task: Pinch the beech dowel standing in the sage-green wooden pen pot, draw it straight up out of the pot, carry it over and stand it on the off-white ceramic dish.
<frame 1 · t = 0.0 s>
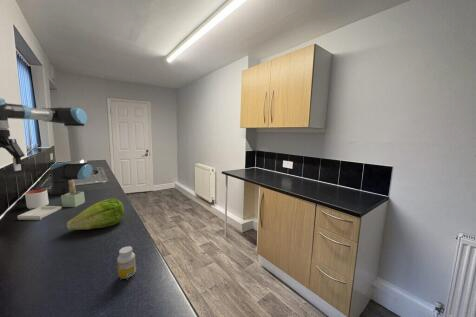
hand: (4, 170, 105), 28 cm above the countertop, fingers open, 13 cm apart
dish: (41, 214, 117), on the countertop
pen pot: (74, 205, 131), on the countertop
lettuce: (98, 226, 104), on the countertop
supplement bottle: (127, 275, 71), on the countertop
cup: (38, 206, 129), on the countertop
dowel: (73, 204, 131), point 1 cm above the countertop, touching pen pot
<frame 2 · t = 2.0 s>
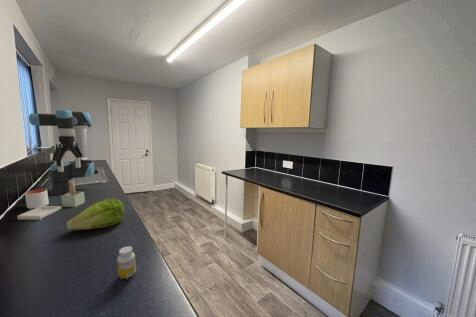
hand: (70, 169, 127), 24 cm above the countertop, fingers open, 13 cm apart
nothing on the countertop moved.
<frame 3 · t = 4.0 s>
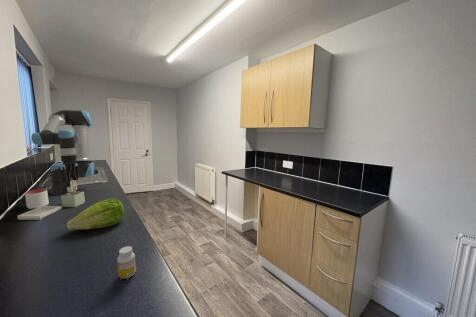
hand: (72, 190, 130), 10 cm above the countertop, fingers closed on dowel, 3 cm apart
dowel: (73, 204, 131), point 1 cm above the countertop, touching gripper, pen pot
everything else where it was.
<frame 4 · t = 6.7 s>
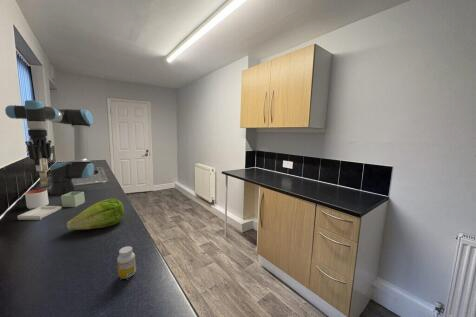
hand: (42, 170, 116), 26 cm above the countertop, fingers closed on dowel, 3 cm apart
dowel: (44, 185, 117), point 17 cm above the countertop, touching gripper
everything else where it was.
when the fingers open (11 cm above the countertop, at t = 9.8 s): dowel drops 1 cm, resting on dish.
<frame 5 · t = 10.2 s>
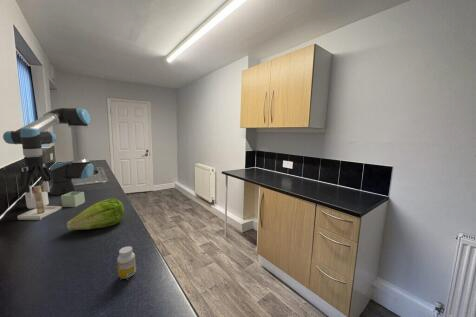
hand: (38, 194, 115), 12 cm above the countertop, fingers open, 9 cm apart
dowel: (41, 212, 117), point 1 cm above the countertop, touching dish
everything else where it was.
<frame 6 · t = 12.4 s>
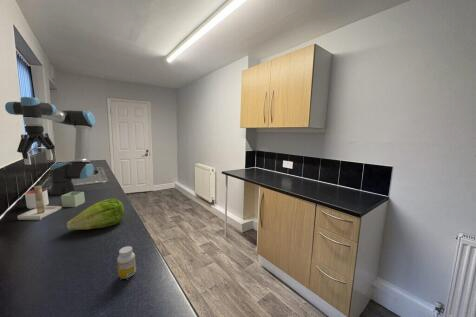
hand: (39, 162, 118), 30 cm above the countertop, fingers open, 13 cm apart
nothing on the countertop moved.
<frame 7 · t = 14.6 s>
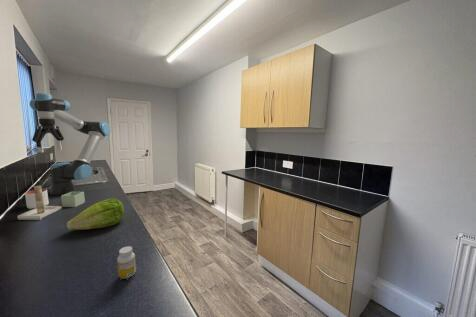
hand: (50, 151, 133), 35 cm above the countertop, fingers open, 13 cm apart
nothing on the countertop moved.
at the end: dowel inside the target area on the dish (0.0 cm from its centre), point 1.0 cm above the dish's base; dowel tilted 0°; the gripper is holding nothing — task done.
